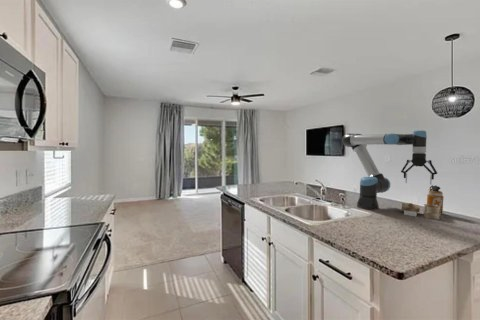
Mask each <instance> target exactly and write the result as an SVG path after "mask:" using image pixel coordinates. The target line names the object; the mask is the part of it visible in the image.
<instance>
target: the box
mask: <svg viewBox="0 0 480 320" xmlns="http://www.w3.org/2000/svg"><path fill="white" fill-rule="evenodd" d="M423 208H424V209H423V215H424V218H427V219H434V220H441V215H442V214H441V208H440V207H439V206H437V205H428V204H427V203H424V207H423Z"/></svg>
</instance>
